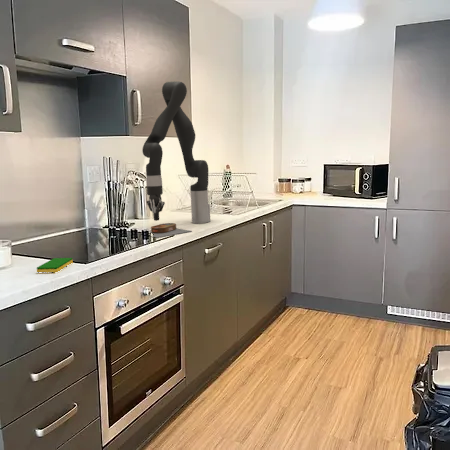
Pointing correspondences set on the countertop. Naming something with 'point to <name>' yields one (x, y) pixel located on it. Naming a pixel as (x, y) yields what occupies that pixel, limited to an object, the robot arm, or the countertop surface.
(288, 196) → the countertop surface
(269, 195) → the countertop surface
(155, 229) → the tin
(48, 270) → the dish sponge
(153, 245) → the countertop surface
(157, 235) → the mat
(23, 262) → the countertop surface
